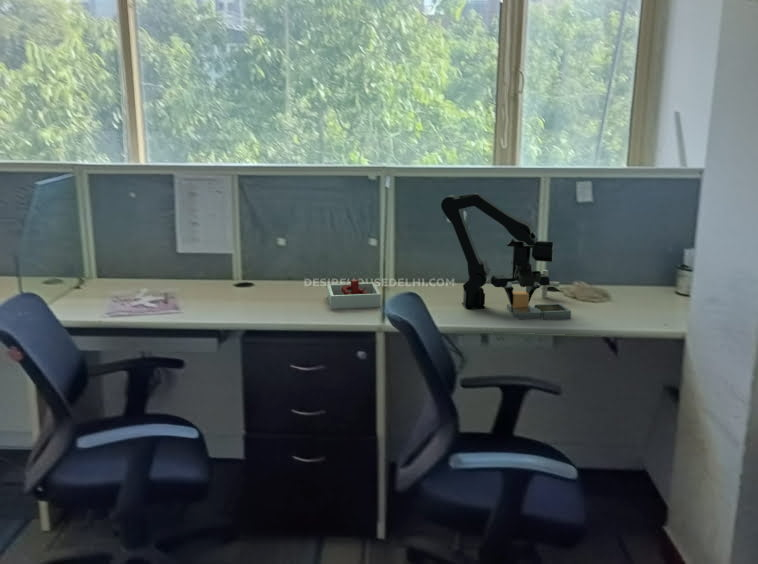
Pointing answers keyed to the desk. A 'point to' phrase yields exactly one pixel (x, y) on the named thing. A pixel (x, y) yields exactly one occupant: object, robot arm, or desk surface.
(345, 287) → the red branched piece
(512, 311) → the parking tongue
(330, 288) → the gear corral
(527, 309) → the sliding lid box
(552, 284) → the pipe connector
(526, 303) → the block
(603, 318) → the desk surface
